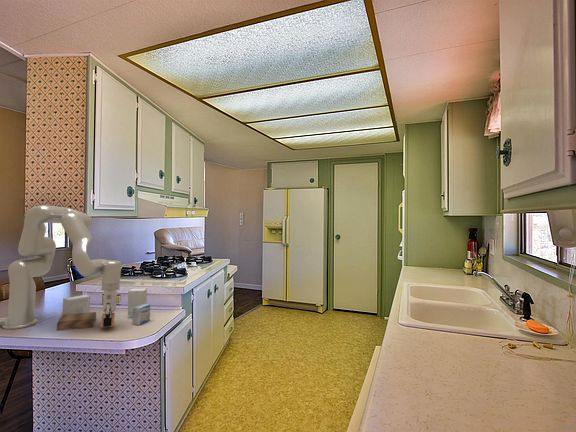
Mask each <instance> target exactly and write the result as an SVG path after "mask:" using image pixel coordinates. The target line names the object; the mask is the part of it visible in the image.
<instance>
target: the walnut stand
mask: <svg viewBox="0 0 576 432" xmlns="http://www.w3.org/2000/svg"><path fill="white" fill-rule="evenodd" d="M96 319H97V311H92V312H89V313H77V314H65V315H62V316H61V317H60V318H59V319H58V320H57V322H56V332H57V331H65V330H67V331H69V330H74V329H75V330H76V329H78V330H79V329H85V328H87V329H88V328H93V327H94V324H95V322H96Z"/></svg>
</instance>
